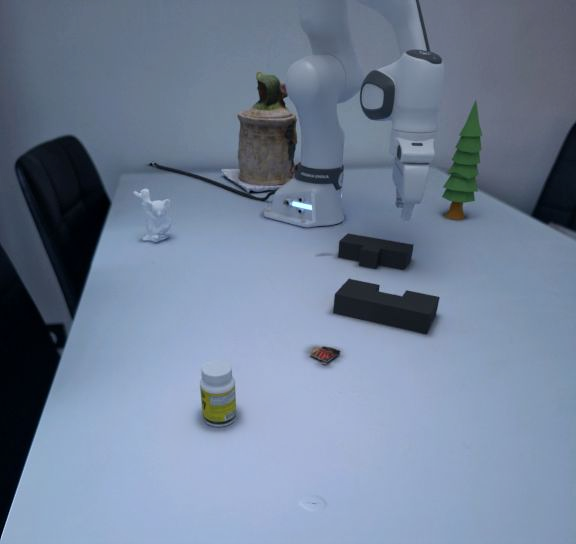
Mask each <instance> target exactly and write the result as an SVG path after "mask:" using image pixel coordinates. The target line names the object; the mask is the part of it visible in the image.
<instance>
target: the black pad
mask: <svg viewBox="0 0 576 544" xmlns="http://www.w3.org/2000/svg"><path fill="white" fill-rule="evenodd" d="M414 247H415V246H414V244H412V243H406V242H401V241H395V240H389V239H384V238H377V237H373V236H372V237H371V236H366V235H361V234H354V233H349V232H348V233H346V234H345V236H343V237H342V238H341V239H339V241H338V253H337V258H339V259H344V260H349V261H355V262H358V266H359V267H363V268H369V269H373V270H376V269H377V268H378V267H379V266H381V267H385V268H386V267H387V268H392V269H396V270H402V271H405V270H406V269H407V268H408V266H409V265H410V263H411V262H412V258H413V253H414Z"/></svg>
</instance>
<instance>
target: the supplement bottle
mask: <svg viewBox="0 0 576 544" xmlns="http://www.w3.org/2000/svg"><path fill="white" fill-rule="evenodd" d="M200 371H201V372H200V373H201V378H200V380H199V390H200V391H199V392H200V399H201V401H200V402H201V410H202V411H201V412H202V419H203V420H204V422H205V423H206V424H207V425H209V426H212V427H215V428H218V427H219V428H220V427H221V428H222V427H226V426H229V425H231V424H232V423H233V422H235V420H236V418H237V413H238V412H237V395H236V394H237V393H236V380H235V377H234V376H233V367H232V365H231V363H230V362H229V361H226V360H223V359H211V360H207V361H206V362H204V363H203V364H202V366H201V369H200Z"/></svg>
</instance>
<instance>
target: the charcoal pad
mask: <svg viewBox="0 0 576 544" xmlns="http://www.w3.org/2000/svg"><path fill="white" fill-rule="evenodd" d="M380 287H381V285H380V284H378V283H372V282H367V281H362V280H358V279H353V278H352V279H351V278H348V279H347V280H346V281H345V282H344V283H343V284H342V285H341V286H340V288H339V289H338V290H337V291H336V292H335V293H334V295H333V296H334V297H333V310H332V313H333V314H336V315H340V316H345V317H349V318H354V319H357V320H362V321H367V322H371V323H375V324H379V325H384V326H388V327H393V328H397V329H401V330H407V331H409V332H415V333H419V334H424V335H427V334H428V333H429V330H430V328H431V327H432V325H433V323H434V322H435V321H434V320H435V318H436V316H437V313H438V309H439V304H440V298H441V297H440V296H439V295H438V296H437V295H432V294H428V293H422V292H418V291H412V290H407V289H405V291H404V293H403V294H402V295H399V294H393V293H388V292H384V291H380Z"/></svg>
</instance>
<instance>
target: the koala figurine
mask: <svg viewBox="0 0 576 544" xmlns="http://www.w3.org/2000/svg"><path fill="white" fill-rule="evenodd" d="M133 195H134V196H135V197H137V198H138V199H139V200H141V204H140V205H141V207H142V208H143V211H144V213H145V222H146V223H145V226H146V228H145V229H146V232H147V234H146V235H145V236H144V237H142V241H145V242H147V241H149V242H154V243H159V242H160V241H165V240H166V239H168V235H167V234H166V233H168V232H169V231H170V230H171V228H172V225H173V222H172V221H173V220H172V216H171V214H170V212H169V210H168V209H170V208H171V206H172V201H171V200H170V199H169V198H168V199H167V198H166V199H164V200H160V199H157V200H153V201H152V199H151V194H150V190H149V188H142V189H141V190H140V192H138V191H136V190H134V191H133Z"/></svg>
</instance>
